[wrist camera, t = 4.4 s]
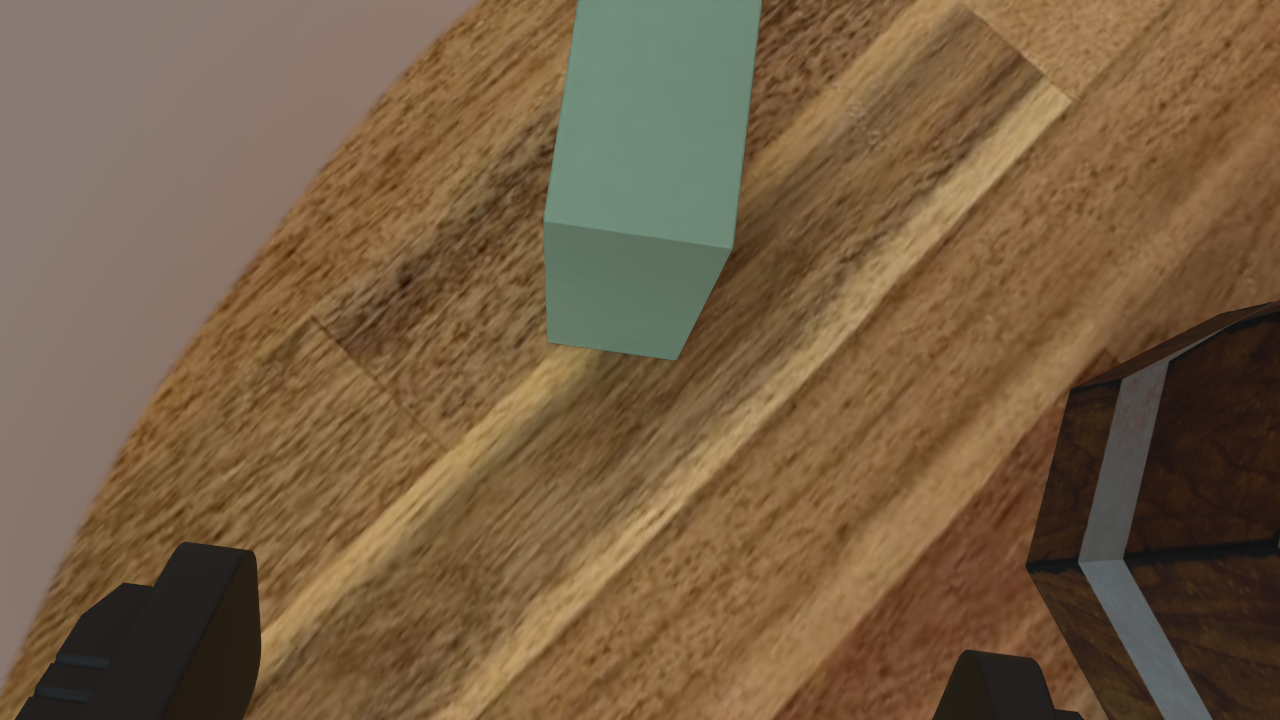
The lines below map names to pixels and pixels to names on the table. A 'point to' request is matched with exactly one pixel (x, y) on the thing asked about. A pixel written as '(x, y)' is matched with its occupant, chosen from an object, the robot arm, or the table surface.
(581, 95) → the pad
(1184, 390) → the mug
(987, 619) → the table surface
